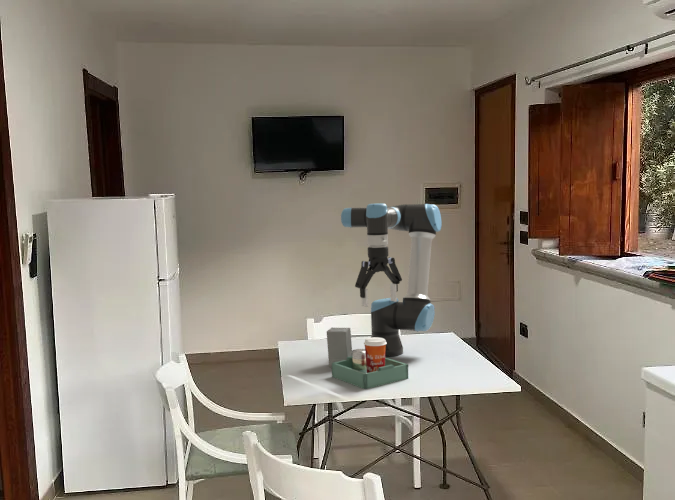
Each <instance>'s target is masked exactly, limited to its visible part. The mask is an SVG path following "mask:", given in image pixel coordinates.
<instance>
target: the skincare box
mask: <svg viewBox="0 0 675 500" xmlns="http://www.w3.org/2000/svg"><path fill="white" fill-rule="evenodd" d="M351 330H352V329H351V327H331V328H329V329H328V330H326V341H327V356H328V368H331V369H332V363H334V362H339V361H343V360H347V357H350V356H352V350H353V348H352V347H353V346H352V345H353V344H352V331H351Z"/></svg>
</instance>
